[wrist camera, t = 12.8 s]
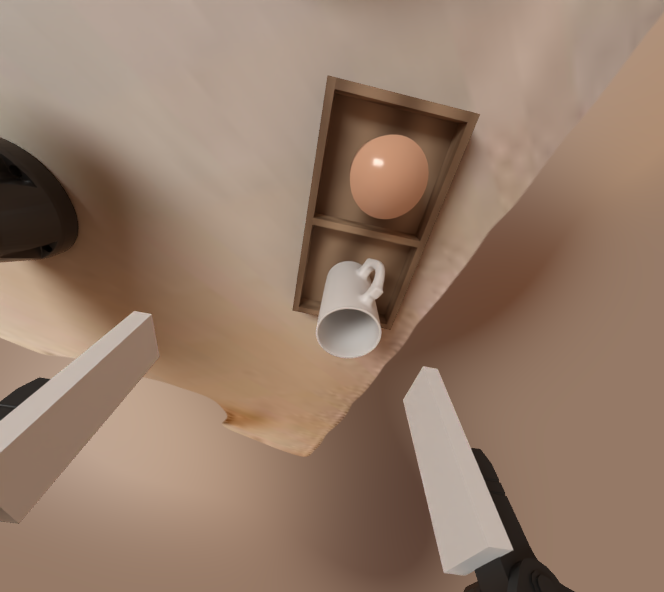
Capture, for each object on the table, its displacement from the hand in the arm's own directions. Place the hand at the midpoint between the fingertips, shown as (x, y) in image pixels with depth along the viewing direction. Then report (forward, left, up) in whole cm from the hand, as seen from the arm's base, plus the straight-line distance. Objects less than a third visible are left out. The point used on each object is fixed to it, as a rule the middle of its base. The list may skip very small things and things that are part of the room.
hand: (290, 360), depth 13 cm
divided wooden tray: (+5, +1, -24) cm, 24 cm away
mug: (+5, -5, -24) cm, 25 cm away
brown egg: (+5, +8, -23) cm, 25 cm away
